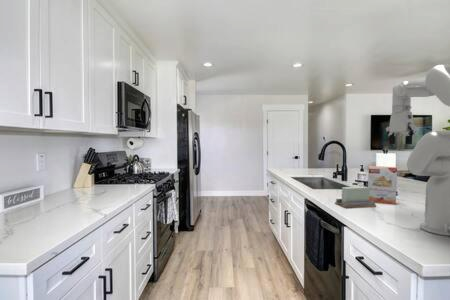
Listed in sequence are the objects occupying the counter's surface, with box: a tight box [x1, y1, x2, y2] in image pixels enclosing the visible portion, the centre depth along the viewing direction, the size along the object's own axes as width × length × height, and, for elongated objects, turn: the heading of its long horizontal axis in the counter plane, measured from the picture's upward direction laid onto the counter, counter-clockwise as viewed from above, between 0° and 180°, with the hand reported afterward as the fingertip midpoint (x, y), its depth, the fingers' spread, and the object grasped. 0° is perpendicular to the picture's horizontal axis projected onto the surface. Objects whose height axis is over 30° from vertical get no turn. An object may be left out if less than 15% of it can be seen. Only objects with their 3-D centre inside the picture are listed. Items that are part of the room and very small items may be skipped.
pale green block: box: [341, 186, 370, 204], centre depth 141 cm, size 4×14×9 cm, turn 100°
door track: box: [334, 198, 377, 209], centre depth 141 cm, size 10×18×3 cm, turn 100°
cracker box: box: [367, 165, 398, 205], centre depth 148 cm, size 14×6×21 cm, turn 62°
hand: (400, 144), depth 127 cm, fingers open, 9 cm apart
